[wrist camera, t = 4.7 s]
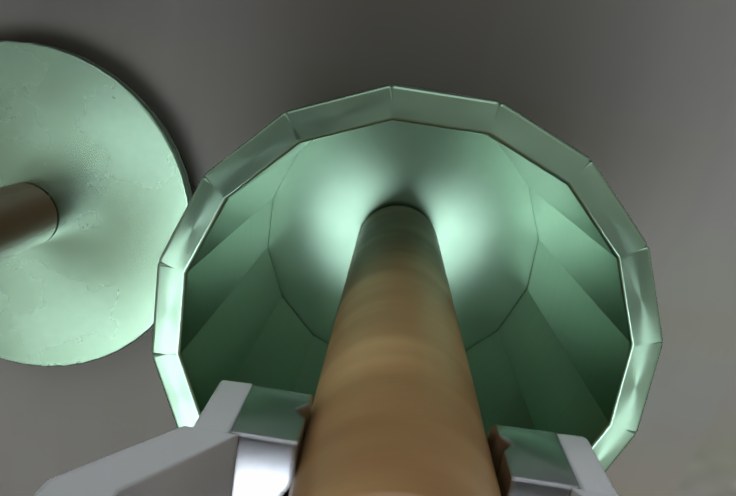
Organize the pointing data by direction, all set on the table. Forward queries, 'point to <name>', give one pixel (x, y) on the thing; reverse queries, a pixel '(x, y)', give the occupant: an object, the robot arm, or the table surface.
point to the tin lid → (79, 207)
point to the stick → (395, 378)
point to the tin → (458, 249)
